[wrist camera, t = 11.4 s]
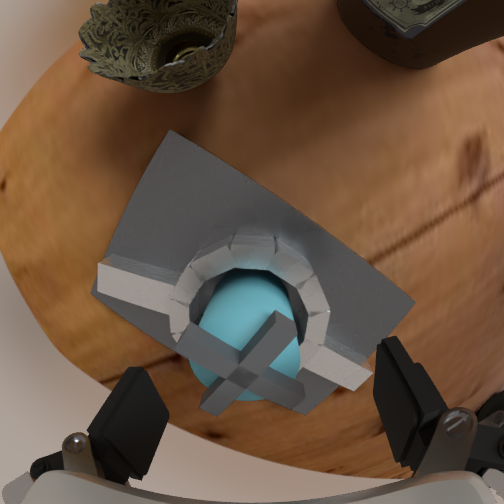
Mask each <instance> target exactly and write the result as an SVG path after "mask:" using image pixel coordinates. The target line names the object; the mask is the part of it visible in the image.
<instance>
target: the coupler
mask: <svg viewBox="0 0 504 504" xmlns="http://www.w3.org/2000/svg"><path fill="white" fill-rule="evenodd" d="M297 335H298V334H297V329H296V324H295V321H294V319H293V314H292V309H291V303H290V298H289V294H288V292H287V289H286V288H285V286H284V285H283V283H282V282H281V281H280V280H279V279H278V278H277V277H275V276H274V275H273V274H271V273H269V272H267V271H264V270H259V269H239V270H236V271H233V272H231V273H229V274H228V275H226V276H225V277H223V278H222V279H221V280H220V282H219V283H218V284H217V286H216V287H215V289H214V292H213V294H212V296H211V298H210V301H209V303H208V305H207V307H206V310H205V312H204V314H203V317H202V319H201V321H200V323H199V326H197V325H196V324H194V323H192V322H191V321H190V323H189V324H188V326H187V327H186V329H185V330H184V332H183V333H182V335H181V336H180V338H179V340H178V342H177V344H176V346H175V348H174V350H175V351H177V352H179V353H180V354H182V355H184V356H185V357H187V358H189V361H190V365H191V368H192V370H193V372H194V374H195V376H196V377H197V378H198V380H199V381H200V382H201V383H202V384H203V385H204V386H205V387H207V388H208V389H207V390H206V391H205V392H204V393H203V395H202V398H201V402H200V405H199V408H200V409H202V410H204V411H206V412H208V413H210V414H212V415H215V416H218V415H220V414H221V413H222V412H223V411H224V410H225V409H226V408H227V407H228V406H229V405H230V404H231V403H232V402H233V401H234V400H240V401H255V400H262V399H267V400H269V401H272V402H274V403H276V404H278V405H281V406H283V407H285V408H288V409H290V410H292V409H293V408H295V407H296V406H297V405H298V404H299V403H300V402H302V401H303V400H304V399H305V398H306V397H305V391H304V384H303V383H301V382H299V381H297V380H295V378H296V376H297V374H298V371H299V368H300V362H301V359H300V351H299V345H298V340H297Z"/></svg>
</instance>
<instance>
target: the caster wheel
mask: <svg viewBox="0 0 504 504" xmlns="http://www.w3.org/2000/svg"><path fill="white" fill-rule="evenodd" d="M477 421H478V423H477V424H482V425H487V426H492V427H498V428H503V429H504V391H502V392H500V393H498V394H496V395H494V396H493V397H492V398H491V399H490V400H489V401H487V402H486V403H485V405H484V406H483V408H482V409H481V411H480V412H479V414H478V417H477Z"/></svg>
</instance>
